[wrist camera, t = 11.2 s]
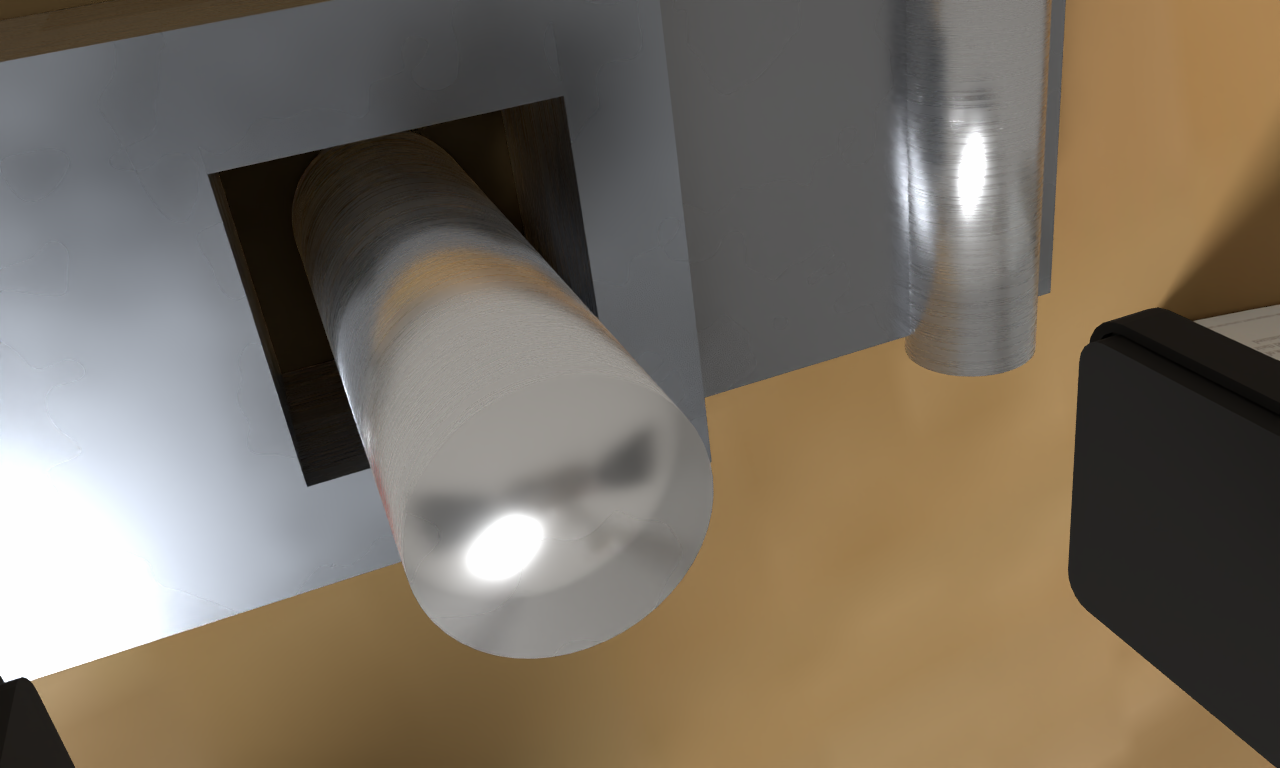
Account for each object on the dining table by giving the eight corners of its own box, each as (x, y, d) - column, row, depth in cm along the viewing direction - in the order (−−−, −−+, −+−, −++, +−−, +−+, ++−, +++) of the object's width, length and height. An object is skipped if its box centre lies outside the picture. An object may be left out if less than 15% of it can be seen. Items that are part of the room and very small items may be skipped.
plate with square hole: (997, -188, 20) (1247, -195, 15) (986, 282, 24) (1179, 385, 20) (-690, 96, 14) (-1117, 227, 9) (-300, 662, 18) (-458, 945, 13)
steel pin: (454, 109, 19) (696, 337, 10) (488, 277, 20) (725, 597, 12) (269, 150, 18) (366, 433, 9) (319, 321, 19) (441, 700, 11)
